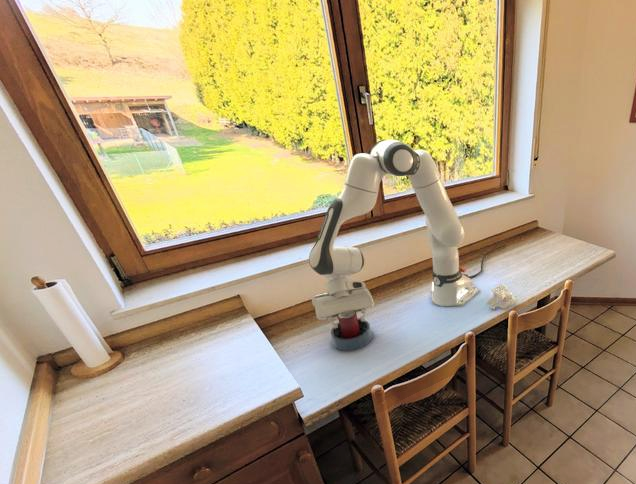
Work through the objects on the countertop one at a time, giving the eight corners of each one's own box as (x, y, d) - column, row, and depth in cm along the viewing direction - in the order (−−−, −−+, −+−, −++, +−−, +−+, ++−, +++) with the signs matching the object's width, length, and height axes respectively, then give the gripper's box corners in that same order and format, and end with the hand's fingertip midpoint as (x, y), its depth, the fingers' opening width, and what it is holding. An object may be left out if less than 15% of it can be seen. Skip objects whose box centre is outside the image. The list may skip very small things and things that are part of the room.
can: (355, 332, 138) (349, 306, 132) (364, 339, 134) (359, 313, 129) (340, 340, 134) (333, 314, 128) (349, 347, 130) (343, 320, 124)
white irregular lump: (516, 307, 149) (500, 291, 147) (501, 318, 153) (485, 303, 151) (520, 293, 159) (505, 278, 157) (506, 304, 163) (491, 290, 161)
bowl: (358, 325, 143) (356, 314, 140) (379, 339, 135) (377, 327, 132) (326, 341, 134) (323, 329, 131) (347, 357, 126) (344, 345, 123)
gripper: (309, 293, 126) (318, 331, 123) (368, 281, 134) (378, 316, 131) (311, 298, 132) (320, 334, 129) (368, 286, 139) (377, 320, 137)
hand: (350, 325), depth 130 cm, fingers open, 8 cm apart
